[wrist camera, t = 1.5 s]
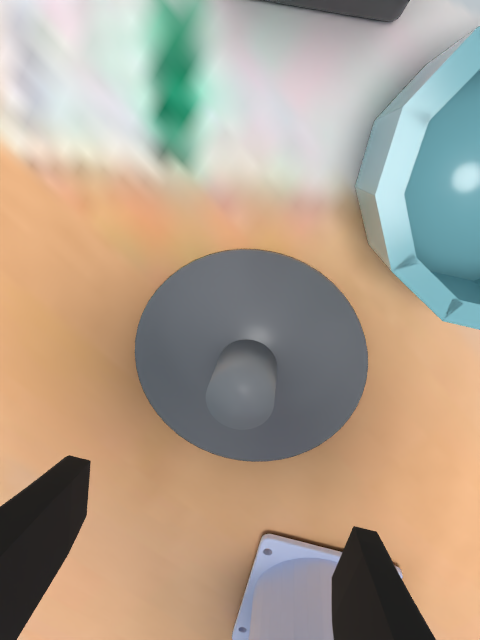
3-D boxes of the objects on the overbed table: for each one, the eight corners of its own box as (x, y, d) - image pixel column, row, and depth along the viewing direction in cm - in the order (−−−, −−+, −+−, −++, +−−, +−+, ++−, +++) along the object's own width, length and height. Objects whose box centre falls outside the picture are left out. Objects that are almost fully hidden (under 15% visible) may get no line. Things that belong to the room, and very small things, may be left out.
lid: (328, 472, 22) (334, 531, 19) (130, 423, 23) (99, 471, 19) (398, 278, 18) (423, 307, 15) (154, 222, 19) (121, 237, 15)
